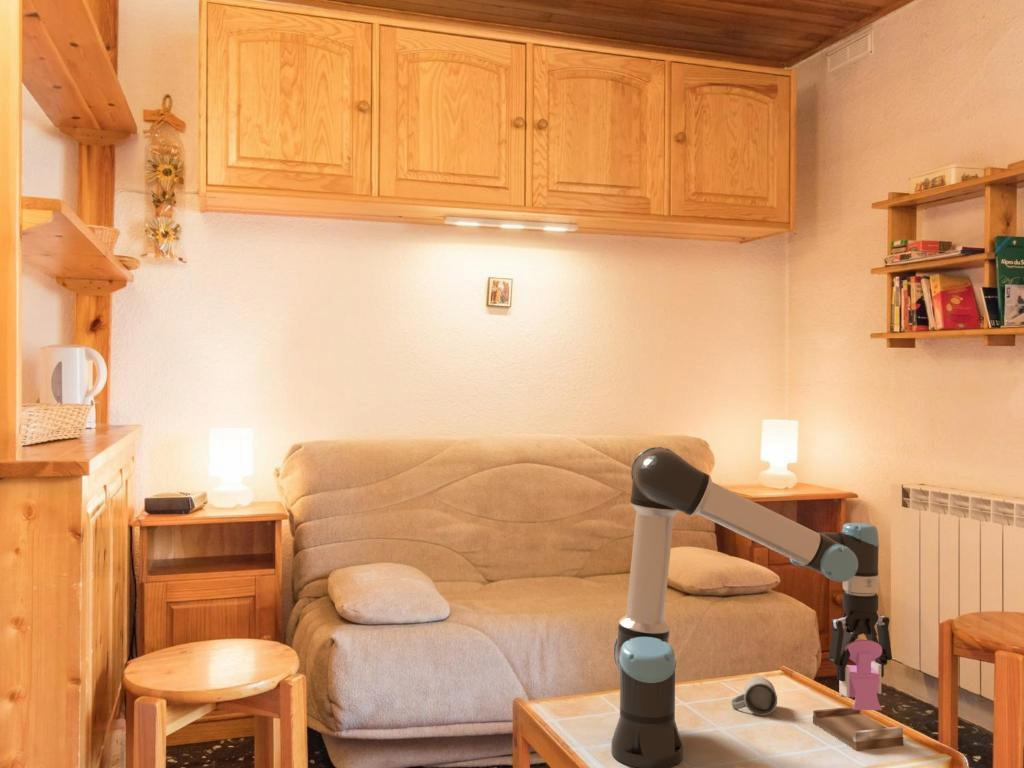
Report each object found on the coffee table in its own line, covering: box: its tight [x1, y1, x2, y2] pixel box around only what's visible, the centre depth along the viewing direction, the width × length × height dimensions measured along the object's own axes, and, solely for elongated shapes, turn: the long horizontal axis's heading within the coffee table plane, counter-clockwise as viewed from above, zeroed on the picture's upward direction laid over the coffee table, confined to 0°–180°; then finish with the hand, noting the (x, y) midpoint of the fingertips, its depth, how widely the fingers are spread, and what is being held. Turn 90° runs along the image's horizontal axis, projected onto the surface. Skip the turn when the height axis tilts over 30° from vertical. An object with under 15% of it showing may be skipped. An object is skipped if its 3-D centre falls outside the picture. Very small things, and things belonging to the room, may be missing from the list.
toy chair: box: [840, 639, 883, 711], centre depth 198 cm, size 8×9×15 cm
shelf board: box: [812, 706, 904, 752], centre depth 199 cm, size 12×16×4 cm
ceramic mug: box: [730, 676, 778, 716], centre depth 214 cm, size 11×8×8 cm
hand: (860, 693), depth 198 cm, fingers closed on toy chair, 7 cm apart
